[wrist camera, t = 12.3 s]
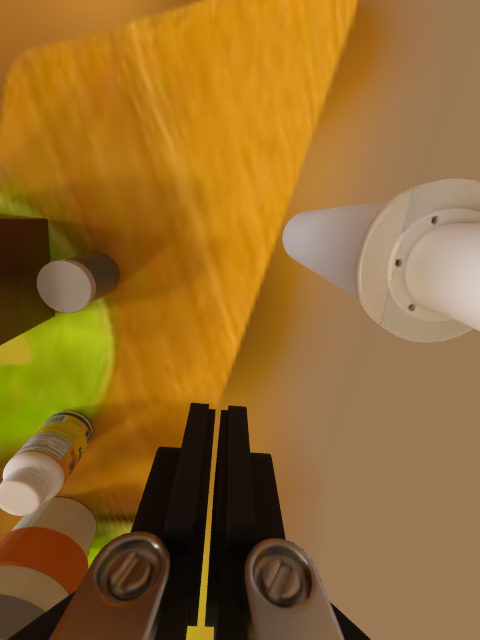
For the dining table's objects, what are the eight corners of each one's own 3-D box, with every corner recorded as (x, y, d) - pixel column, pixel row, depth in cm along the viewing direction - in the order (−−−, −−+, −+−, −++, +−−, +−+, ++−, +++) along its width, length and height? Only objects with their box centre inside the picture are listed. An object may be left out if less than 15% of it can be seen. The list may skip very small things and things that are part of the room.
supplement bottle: (79, 455, 39) (29, 532, 30) (38, 431, 38) (-27, 504, 29) (104, 425, 38) (60, 495, 29) (63, 399, 37) (3, 463, 27)
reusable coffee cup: (124, 546, 44) (73, 703, 30) (40, 566, 45) (-50, 729, 30) (86, 475, 40) (7, 615, 26) (-5, 499, 41) (-131, 648, 27)
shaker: (108, 250, 34) (142, 262, 29) (109, 290, 36) (142, 309, 30) (22, 249, 29) (42, 263, 24) (26, 296, 31) (47, 320, 25)
